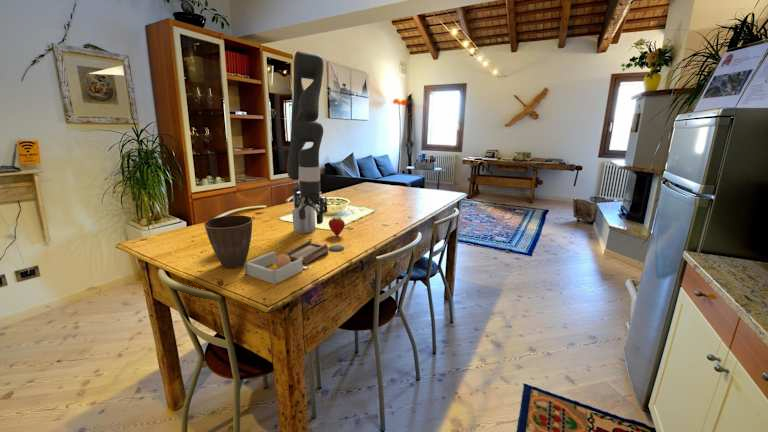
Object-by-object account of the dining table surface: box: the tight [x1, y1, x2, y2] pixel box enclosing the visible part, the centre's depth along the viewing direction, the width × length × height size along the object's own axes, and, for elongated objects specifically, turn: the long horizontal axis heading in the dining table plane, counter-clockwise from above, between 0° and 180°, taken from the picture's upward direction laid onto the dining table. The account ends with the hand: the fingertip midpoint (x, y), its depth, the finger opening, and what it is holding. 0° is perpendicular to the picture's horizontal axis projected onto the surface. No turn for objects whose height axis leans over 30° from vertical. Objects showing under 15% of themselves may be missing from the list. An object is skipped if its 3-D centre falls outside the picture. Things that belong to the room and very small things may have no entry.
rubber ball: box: [274, 253, 291, 269], centre depth 116 cm, size 5×5×5 cm
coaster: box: [328, 244, 345, 253], centre depth 134 cm, size 6×6×1 cm
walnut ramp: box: [286, 239, 329, 265], centre depth 126 cm, size 10×12×4 cm
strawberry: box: [328, 214, 346, 236], centre depth 149 cm, size 6×8×10 cm
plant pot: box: [203, 214, 253, 269], centre depth 117 cm, size 15×15×16 cm
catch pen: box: [243, 251, 304, 285], centre depth 112 cm, size 14×12×4 cm
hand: (311, 221), depth 126 cm, fingers open, 8 cm apart
